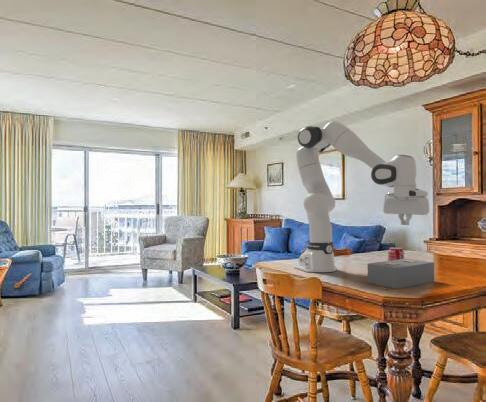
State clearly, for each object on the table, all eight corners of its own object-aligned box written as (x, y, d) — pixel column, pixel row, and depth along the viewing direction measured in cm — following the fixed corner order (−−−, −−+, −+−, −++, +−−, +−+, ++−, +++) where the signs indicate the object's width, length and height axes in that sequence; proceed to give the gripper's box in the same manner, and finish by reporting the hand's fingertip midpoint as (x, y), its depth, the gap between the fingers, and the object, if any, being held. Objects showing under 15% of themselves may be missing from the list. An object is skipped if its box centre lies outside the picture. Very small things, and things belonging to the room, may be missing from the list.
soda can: (403, 272, 182) (402, 247, 182) (405, 275, 176) (405, 248, 176) (387, 271, 184) (387, 246, 184) (389, 274, 177) (388, 248, 178)
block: (368, 282, 160) (367, 263, 160) (405, 276, 172) (404, 258, 172) (396, 288, 148) (396, 268, 148) (434, 281, 160) (434, 262, 160)
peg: (403, 277, 164) (402, 260, 164) (409, 276, 166) (408, 259, 166) (411, 278, 161) (411, 261, 161) (417, 277, 163) (417, 261, 163)
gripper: (380, 193, 172) (380, 223, 172) (421, 192, 154) (421, 226, 154) (389, 193, 175) (389, 223, 175) (431, 192, 157) (431, 226, 157)
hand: (404, 225), depth 164 cm, fingers closed
